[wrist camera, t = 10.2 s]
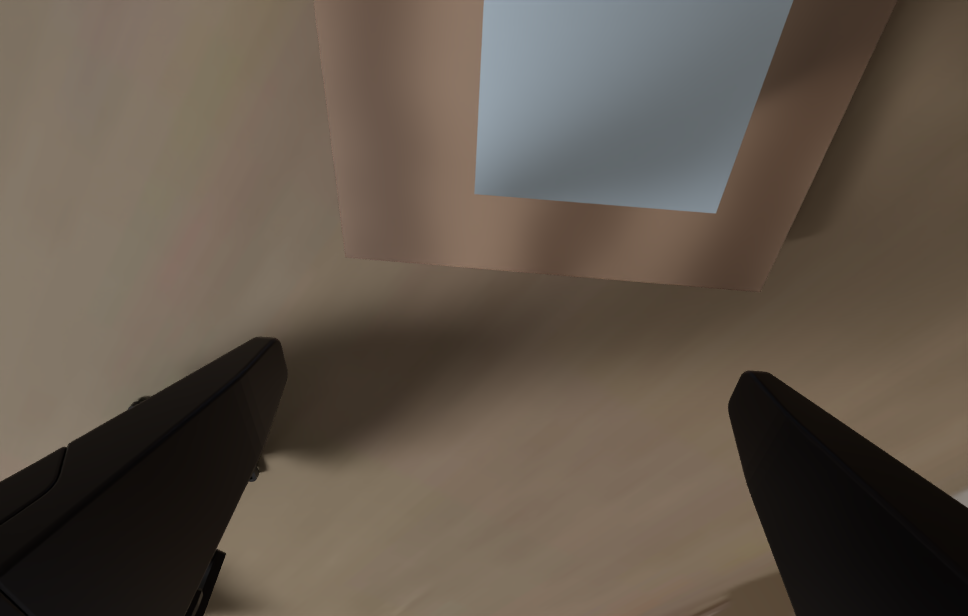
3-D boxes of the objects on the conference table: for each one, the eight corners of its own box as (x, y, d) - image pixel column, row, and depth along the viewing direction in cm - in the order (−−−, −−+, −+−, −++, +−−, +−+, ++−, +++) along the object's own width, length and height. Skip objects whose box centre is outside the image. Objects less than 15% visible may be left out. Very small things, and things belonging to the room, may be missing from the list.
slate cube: (488, 129, 15) (474, 194, 11) (501, -92, 12) (490, -128, 8) (658, 142, 15) (715, 213, 11) (717, -77, 12) (831, -105, 8)
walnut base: (366, 224, 21) (345, 257, 19) (311, -371, 12) (255, -461, 9) (732, 254, 21) (760, 292, 18) (971, -333, 11) (1093, -416, 9)
